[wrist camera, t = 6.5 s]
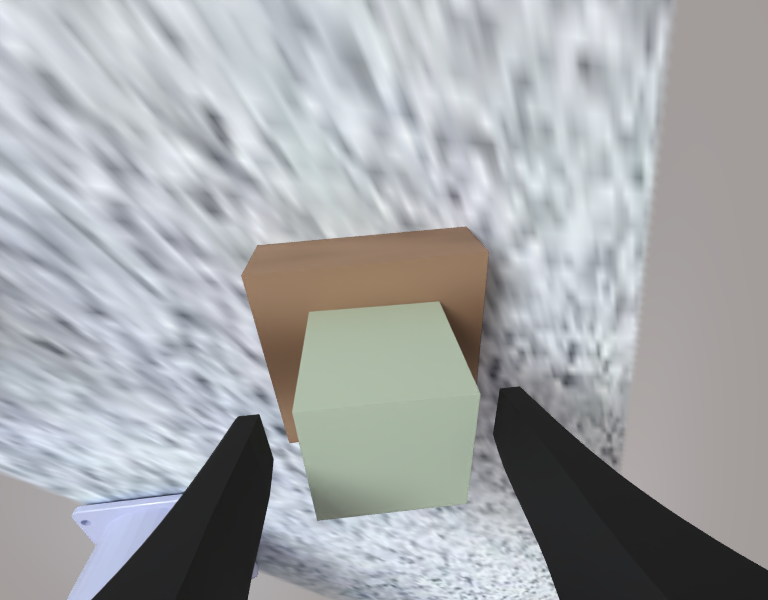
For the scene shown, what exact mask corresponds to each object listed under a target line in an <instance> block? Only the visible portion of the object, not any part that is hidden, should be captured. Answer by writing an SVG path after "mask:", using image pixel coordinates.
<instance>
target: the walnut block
mask: <svg viewBox="0 0 768 600" xmlns="http://www.w3.org/2000/svg"><path fill="white" fill-rule="evenodd" d="M488 256H489V251H488V250H487V249H486V248H485V247H484V246H483V245H482V244H481V242H480V241H479V240H478V239H477V238H476V237H475V236H474V235H473V234H472V232H471V231H470V230H469V229H468V228H467V227H457V228H445V229H434V230H423V231H412V232H401V233H390V234H379V235H367V236H356V237H345V238H334V239H323V240H312V241H301V242H289V243H278V244H267V245H257V247H256V249H255V251H254V253H253V255H252V257H251V258H250V260H249V262H248V264H247V266H246V268H245V270H244V271H243V273H242V275H241V276H242V280H243V283H244V286H245V290H246V293H247V297H248V300H249V304H250V307H251V311H252V314H253V318H254V321H255V325H256V328H257V332H258V335H259V339H260V342H261V346H262V349H263V353H264V356H265V360H266V363H267V367H268V370H269V374H270V377H271V381H272V384H273V388H274V391H275V395H276V398H277V401H278V405H279V408H280V412H281V415H282V419H283V422H284V426H285V429H286V433H287V436H288V440H289V443H295V442H299V440H298V435H297V431H296V427H295V422H294V418H293V414H292V410H293V404H294V398H295V392H296V386H297V380H298V375H299V369H300V363H301V357H302V351H303V345H304V339H305V333H306V327H307V321H308V315H309V312H314V311H326V310H339V309H351V308H363V307H376V306H388V305H401V304H413V303H426V302H438V301H439V302H440V304H441V306H442V309H443V311H444V313H445V315H446V318H447V320H448V322H449V324H450V327H451V329H452V331H453V333H454V336H455V338H456V340H457V342H458V345H459V347H460V349H461V351H462V354H463V356H464V358H465V360H466V363H467V365H468V367H469V369H470V372H471V374H472V376H473V378H474V381H475V383H476V384H477V374H478V363H479V352H480V341H481V331H482V320H483V309H484V299H485V288H486V277H487V266H488Z"/></svg>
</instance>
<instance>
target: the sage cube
mask: <svg viewBox="0 0 768 600" xmlns="http://www.w3.org/2000/svg"><path fill="white" fill-rule="evenodd" d="M479 402H480V392H479V390H478V387H477V385H476V383H475V381H474V378H473V376H472V374H471V372H470V369H469V367H468V365H467V363H466V360H465V358H464V356H463V354H462V351H461V349H460V347H459V345H458V342H457V340H456V338H455V336H454V333H453V331H452V329H451V327H450V324H449V322H448V320H447V318H446V315H445V313H444V311H443V309H442V306H441V304H440V302H439V301H438V302H426V303H413V304H401V305H388V306H376V307H363V308H351V309H339V310H326V311H314V312H309V315H308V321H307V327H306V333H305V339H304V345H303V351H302V357H301V363H300V369H299V375H298V380H297V386H296V392H295V398H294V404H293V410H292V414H293V418H294V422H295V427H296V431H297V435H298V440H299V444H300V448H301V453H302V457H303V461H304V466H305V470H306V474H307V478H308V483H309V487H310V491H311V496H312V500H313V504H314V509H315V513H316V517H317V521H319V520H328V519H336V518H345V517H354V516H363V515H372V514H381V513H389V512H398V511H407V510H416V509H425V508H433V507H442V506H451V505H460V504H467V498H468V490H469V482H470V474H471V466H472V458H473V450H474V442H475V434H476V426H477V418H478V410H479Z"/></svg>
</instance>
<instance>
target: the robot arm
mask: <svg viewBox="0 0 768 600" xmlns="http://www.w3.org/2000/svg"><path fill="white" fill-rule="evenodd" d="M493 436H494V439H495V442H496V445H497V449H498V452H499V455H500V458H501V461H502V464H503V467H504V469H505V471H506V474H507V476H508V478H509V480H510V483H511V485H512V487H513V489H514V491H515V494H516V496H517V498H518V500H519V502H520V505H521V507H522V509H523V511H524V513H525V516H526V518H527V520H528V522H529V524H530V526H531V529H532V531H533V533H534V535H535V537H536V540H537V542H538V544H539V546H540V549H541V551H542V553H543V556H544V558H545V561H546V563H547V566H548V569H549V572H550V574H551V577H552V580H553V583H554V585H555V588H556V591H557V594H558V597H559V599H560V600H768V570H766V569H765V568H763V567H761V566H759V565H758V564H756V563H754V562H753V561H751V560H749V559H747V558H746V557H744V556H742V555H740V554H739V553H737V552H735V551H733V550H732V549H730V548H729V547H727V546H725V545H724V544H722V543H720V542H719V541H717V540H715V539H714V538H712V537H711V536H709V535H708V534H706V533H704V532H703V531H701V530H699V529H698V528H696V527H695V526H693V525H692V524H690V523H689V522H687V521H685V520H684V519H682V518H681V517H679V516H678V515H676V514H675V513H673V512H672V511H670V510H669V509H667V508H666V507H664V506H663V505H661V504H660V503H659V502H657V501H656V500H654V499H653V498H651V497H650V496H649V495H647V494H646V493H644V492H643V491H642V490H640V489H639V488H638V487H636V486H635V485H633V484H632V483H631V482H629V481H628V480H627V479H625V478H624V477H623V476H621V475H620V474H619V473H617V472H616V471H615V470H614V469H612V468H611V467H610V466H609V465H607V464H606V463H605V462H604V461H602V460H601V459H600V458H599V457H598V456H596V455H595V454H594V453H593V452H592V451H590V450H589V449H588V448H587V447H586V446H584V445H583V444H582V443H581V442H580V441H579V440H578V439H576V438H575V437H574V436H573V435H572V434H571V433H570V432H568V431H567V430H566V429H565V428H564V427H563V426H562V425H561V424H560V423H558V422H557V421H556V420H555V419H554V418H553V417H552V416H551V415H550V414H549V413H548V412H546V411H545V410H544V409H543V408H542V407H541V406H540V405H539V404H538V403H537V402H536V401H535V400H534V399H533V398H532V397H530V396H529V395H528V394H527V393H526V392H525V391H524V390H523V389H522V388H521V387H510V388H501V389H500V392H499V398H498V405H497V411H496V418H495V425H494V431H493ZM273 460H274V459H273V456H272V453H271V449H270V446H269V443H268V440H267V437H266V434H265V430H264V427H263V424H262V421H261V418H260V415H259V414H257V415H247V416H238V417H237V418H236V419H235V421H234V422H233V424H232V425H231V427H230V428H229V430H228V431H227V433H226V434H225V436H224V437H223V439H222V440H221V442H220V443H219V445H218V446H217V447H216V449H215V450H214V452H213V453H212V455H211V456H210V458H209V459H208V460H207V462H206V463H205V465H204V466H203V467H202V469H201V470H200V472H199V473H198V474H197V476H196V477H195V478H194V480H193V481H192V482H191V484H190V485H189V487H188V488H187V489H186V491H185V492H184V493H183V494H178V495H170V496H161V497H153V498H144V499H136V500H127V501H119V502H110V503H102V504H93V505H85V506H79V507H77V508H76V509H75V511H74V512H73V514H72V518H73V519H74V521H75V522H76V523H77V524H78V525H79V526H80V527H81V529H82V530H83V531H84V532H85V533H86V534H87V535H88V537H89V538H90V539H91V540H92V541H93V542H94V544H95V545H96V547H95V548H94V550H93V552H92V554H91V556H90V557H89V559H88V562H87V563H86V565H85V567H84V569H83V570H82V572H81V574H80V576H79V578H78V580H77V581H76V583H75V585H74V587H73V589H72V591H71V592H70V594H69V596H68V598H67V600H248V594H249V588H250V583H251V579H252V578H255V577H256V576H257V575H258V567H257V565H256V562H255V561H256V556H257V552H258V547H259V543H260V538H261V534H262V529H263V525H264V520H265V515H266V511H267V506H268V501H269V497H270V489H271V481H272V471H273Z"/></svg>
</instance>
